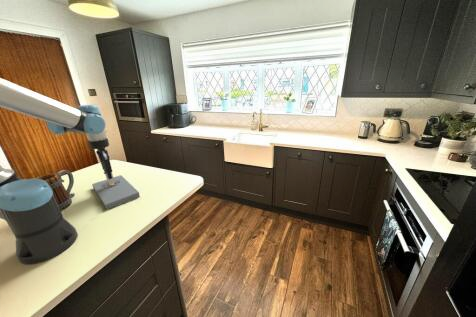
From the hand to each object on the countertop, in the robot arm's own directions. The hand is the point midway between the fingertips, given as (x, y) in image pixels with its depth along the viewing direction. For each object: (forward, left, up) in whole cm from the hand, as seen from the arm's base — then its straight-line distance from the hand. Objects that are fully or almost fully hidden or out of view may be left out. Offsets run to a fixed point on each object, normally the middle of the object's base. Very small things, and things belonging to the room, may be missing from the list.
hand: (111, 183), depth 101 cm
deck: (0, -4, -4) cm, 5 cm away
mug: (-20, +3, -4) cm, 21 cm away
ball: (0, +3, -2) cm, 3 cm away
